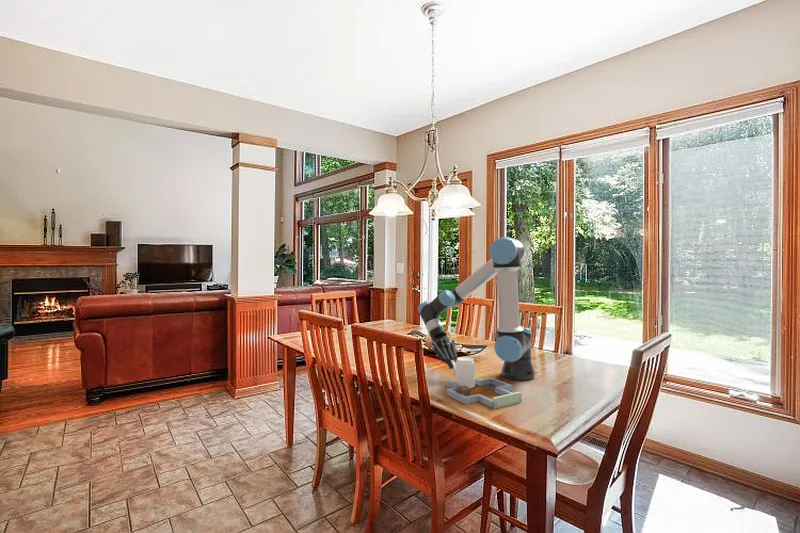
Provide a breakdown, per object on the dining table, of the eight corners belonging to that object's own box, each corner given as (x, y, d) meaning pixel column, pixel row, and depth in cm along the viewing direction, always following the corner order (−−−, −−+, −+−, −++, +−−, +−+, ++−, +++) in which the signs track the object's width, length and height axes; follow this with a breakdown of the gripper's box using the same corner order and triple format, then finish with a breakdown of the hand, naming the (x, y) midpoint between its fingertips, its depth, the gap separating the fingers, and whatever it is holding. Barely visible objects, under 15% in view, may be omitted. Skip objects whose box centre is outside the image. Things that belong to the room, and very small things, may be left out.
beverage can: (453, 384, 173) (453, 356, 173) (471, 383, 174) (471, 356, 174) (458, 390, 165) (458, 361, 165) (477, 389, 166) (477, 361, 166)
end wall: (492, 408, 145) (492, 397, 145) (519, 401, 152) (519, 391, 152) (494, 409, 144) (494, 398, 144) (521, 402, 151) (521, 392, 151)
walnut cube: (456, 396, 156) (456, 386, 156) (464, 395, 158) (464, 385, 158) (462, 399, 153) (462, 389, 153) (470, 398, 155) (470, 388, 155)
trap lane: (433, 388, 167) (433, 382, 167) (481, 378, 181) (481, 373, 180) (480, 412, 141) (480, 405, 141) (533, 399, 154) (533, 393, 154)
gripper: (443, 333, 194) (465, 376, 180) (421, 336, 187) (441, 380, 173) (450, 324, 189) (472, 367, 175) (427, 326, 183) (448, 372, 168)
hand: (457, 374), depth 174 cm, fingers closed
